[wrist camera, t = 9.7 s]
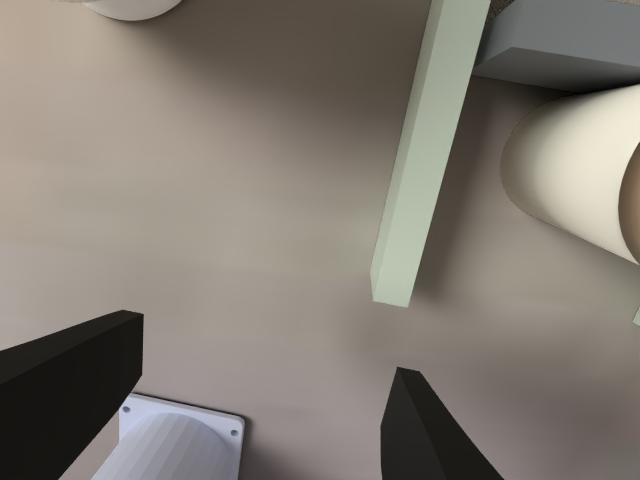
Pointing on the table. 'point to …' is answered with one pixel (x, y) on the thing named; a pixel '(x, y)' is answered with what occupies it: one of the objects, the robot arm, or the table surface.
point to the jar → (128, 8)
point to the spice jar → (581, 167)
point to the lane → (426, 144)
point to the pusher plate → (563, 45)
